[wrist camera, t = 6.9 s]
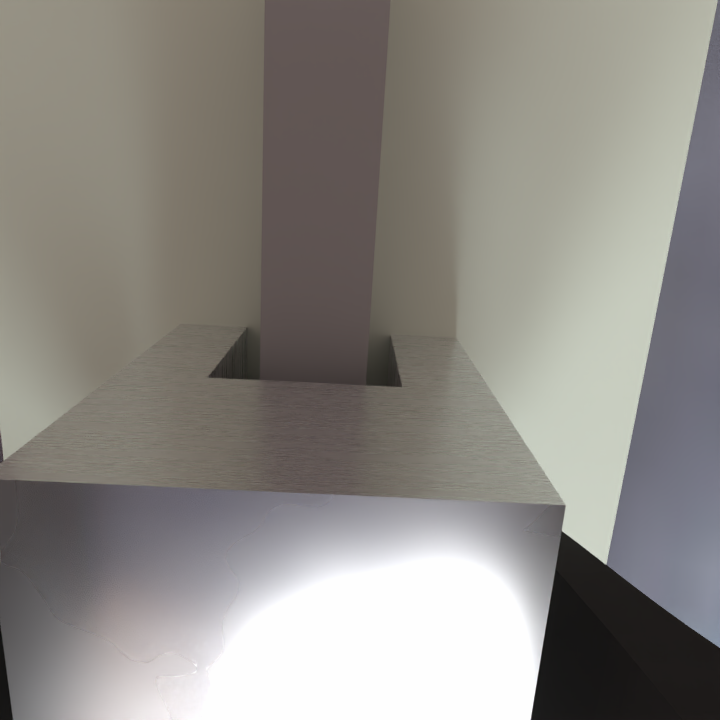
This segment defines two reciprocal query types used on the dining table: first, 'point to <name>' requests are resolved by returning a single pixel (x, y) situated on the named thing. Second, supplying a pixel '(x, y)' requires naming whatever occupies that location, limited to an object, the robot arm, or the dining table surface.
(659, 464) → the dining table surface
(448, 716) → the block
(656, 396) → the dining table surface
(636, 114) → the rail plate
